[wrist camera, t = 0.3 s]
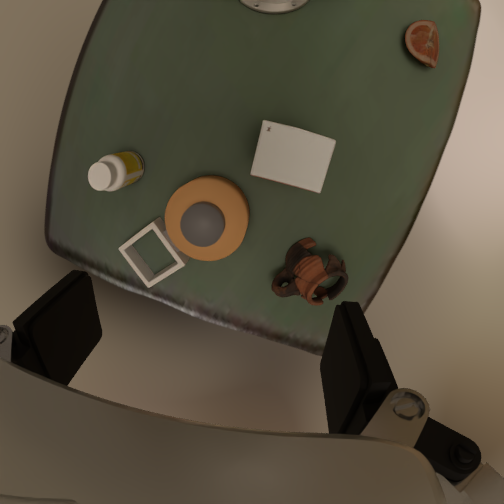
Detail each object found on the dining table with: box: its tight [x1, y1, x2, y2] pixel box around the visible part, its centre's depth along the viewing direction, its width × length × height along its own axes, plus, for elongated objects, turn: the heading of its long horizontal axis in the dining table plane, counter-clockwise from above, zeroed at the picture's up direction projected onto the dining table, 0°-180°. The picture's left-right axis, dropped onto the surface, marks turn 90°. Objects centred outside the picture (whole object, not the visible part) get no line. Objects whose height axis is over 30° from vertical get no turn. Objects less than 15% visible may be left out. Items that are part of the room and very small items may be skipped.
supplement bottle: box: [88, 151, 144, 191], centre depth 40 cm, size 5×5×10 cm
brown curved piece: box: [272, 238, 348, 305], centre depth 47 cm, size 12×10×8 cm
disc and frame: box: [118, 175, 250, 288], centre depth 44 cm, size 12×22×7 cm, turn 123°
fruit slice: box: [405, 20, 439, 68], centre depth 30 cm, size 8×7×5 cm
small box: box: [250, 120, 336, 193], centre depth 36 cm, size 8×6×13 cm
